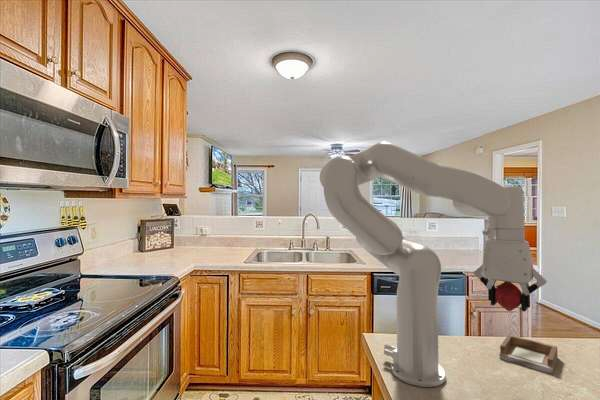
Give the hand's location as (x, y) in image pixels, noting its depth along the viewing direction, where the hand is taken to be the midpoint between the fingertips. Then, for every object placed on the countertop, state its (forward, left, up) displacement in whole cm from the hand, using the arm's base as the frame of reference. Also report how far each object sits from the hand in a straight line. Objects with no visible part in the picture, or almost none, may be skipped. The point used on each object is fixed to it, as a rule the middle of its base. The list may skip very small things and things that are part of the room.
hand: (508, 306), depth 76 cm
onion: (0, 0, -1) cm, 1 cm away
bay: (+2, +10, -16) cm, 19 cm away
